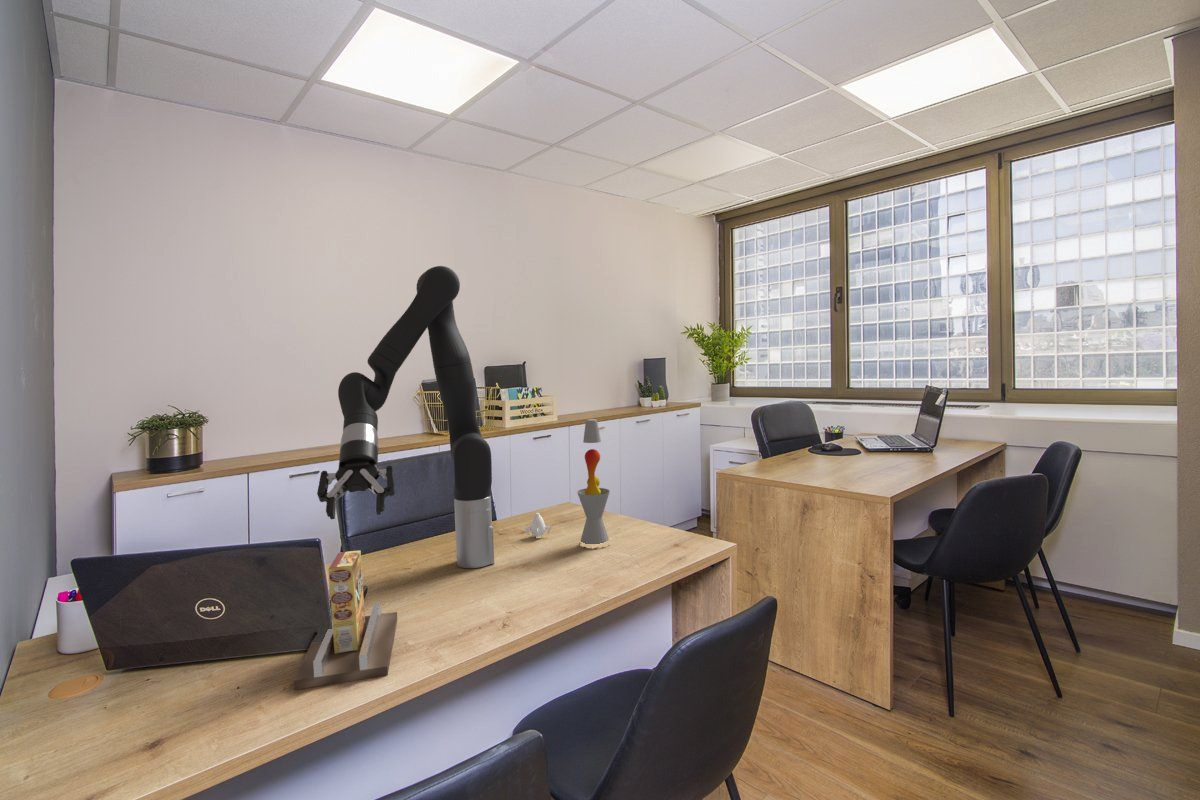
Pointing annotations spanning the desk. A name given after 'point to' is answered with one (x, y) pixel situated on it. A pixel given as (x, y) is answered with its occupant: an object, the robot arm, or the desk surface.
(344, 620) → the candy box
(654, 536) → the desk surface
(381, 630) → the track base
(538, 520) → the rocket toy
